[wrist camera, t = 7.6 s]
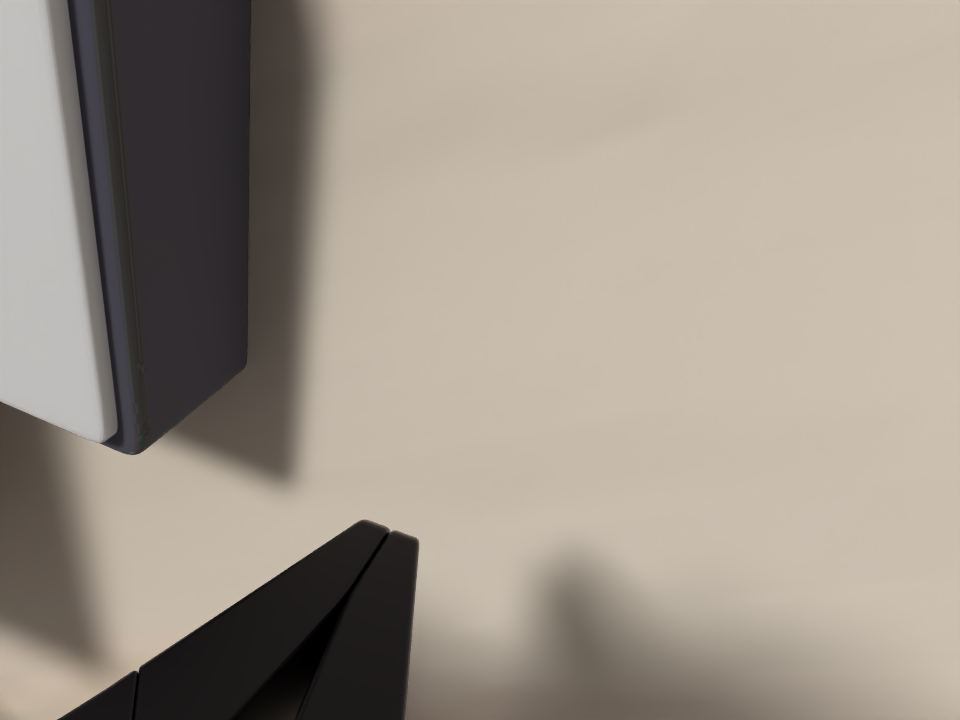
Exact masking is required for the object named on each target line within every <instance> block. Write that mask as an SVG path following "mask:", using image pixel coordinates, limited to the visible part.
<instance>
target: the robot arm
mask: <svg viewBox="0 0 960 720" xmlns="http://www.w3.org/2000/svg"><path fill="white" fill-rule="evenodd" d="M418 554H419V540H418V539H417V538H415V537H413V536H410V535H407V534H404V533H402V532H399V531H395V530H394V531H392V532H390V530H389V528H387V527H385V526H383V525H380V524H377V523H374V522H372V521H369V520H361V521H359V522H357V523H356V524H354V525H353V526H351V527H350V528H348V529H346V530H345V531H343V532H342V533H340V534H339V535H337V536H336V537H334V538H333V539H331V540H330V541H328V542H327V543H325V544H324V545H322V546H321V547H319V548H318V549H316V550H315V551H313V552H312V553H310V554H309V555H307V556H306V557H304V558H303V559H301V560H300V561H298V562H297V563H295V564H294V565H292V566H291V567H289V568H288V569H286V570H285V571H283V572H282V573H280V574H279V575H277V576H276V577H274V578H273V579H271V580H270V581H268V582H267V583H265V584H264V585H262V586H261V587H259V588H258V589H256V590H255V591H253V592H252V593H250V594H249V595H247V596H246V597H244V598H243V599H241V600H240V601H238V602H237V603H235V604H234V605H232V606H231V607H229V608H228V609H226V610H225V611H223V612H222V613H220V614H219V615H217V616H216V617H214V618H213V619H211V620H210V621H208V622H207V623H205V624H204V625H202V626H201V627H199V628H198V629H196V630H195V631H193V632H192V633H190V634H189V635H187V636H186V637H184V638H183V639H181V640H180V641H178V642H177V643H175V644H174V645H172V646H171V647H169V648H168V649H166V650H165V651H163V652H161V653H160V654H158V655H157V656H155V657H154V658H152V659H151V660H149V661H148V662H146V663H145V664H143V665H142V666H141V667H140V668H139V673H138V672H137V671H132V672H131V673H129V674H128V675H126V676H125V677H123V678H122V679H120V680H119V681H117V682H116V683H114V684H113V685H111V686H110V687H109V688H107V689H105V690H104V691H102V692H101V693H99V694H98V695H96V696H94V697H93V698H91V699H90V700H88V701H86V702H85V703H83V704H82V705H80V706H79V707H77V708H75V709H74V710H72V711H71V712H69V713H67V714H66V715H64V716H63V717H61V718H59V719H58V720H405V712H406V700H407V688H408V676H409V664H410V651H411V639H412V627H413V615H414V603H415V591H416V578H417V566H418Z"/></svg>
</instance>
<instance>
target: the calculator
mask: <svg viewBox="0 0 960 720" xmlns="http://www.w3.org/2000/svg"><path fill="white" fill-rule="evenodd" d="M250 28H251V0H0V402H3V403H5V404H7V405H10V406H12V407H14V408H16V409H19V410H21V411H23V412H26V413H28V414H30V415H33V416H35V417H37V418H39V419H42V420H44V421H46V422H49V423H51V424H53V425H56V426H58V427H60V428H62V429H65V430H67V431H69V432H72V433H74V434H76V435H79V436H81V437H83V438H85V439H88V440H90V441H94V442H97V443H100V444H103V445H105V446H107V447H110V448H112V449H114V450H117V451H119V452H122V453H125V454H129V455H136V454H140V453H141V452H143V451H144V450H145V449H147V448H148V447H149V446H150V445H152V444H153V443H154V442H155V441H157V440H158V439H159V438H160V437H162V436H163V435H164V434H165V433H167V432H168V431H169V430H170V429H171V428H173V427H174V426H175V425H176V424H178V423H179V422H180V421H181V420H182V419H184V418H185V417H186V416H187V415H188V414H190V413H191V412H192V411H193V410H194V409H196V408H197V407H198V406H199V405H201V404H202V403H203V402H204V401H205V400H207V399H208V398H209V397H210V396H211V395H213V394H214V393H215V392H216V391H218V390H219V389H220V388H221V387H222V386H224V385H225V384H226V383H227V382H228V381H229V380H231V379H232V378H233V377H234V376H235V375H237V374H238V373H239V372H240V371H241V370H243V369H244V367H245V366H246V362H247V324H248V225H249V126H250Z"/></svg>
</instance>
